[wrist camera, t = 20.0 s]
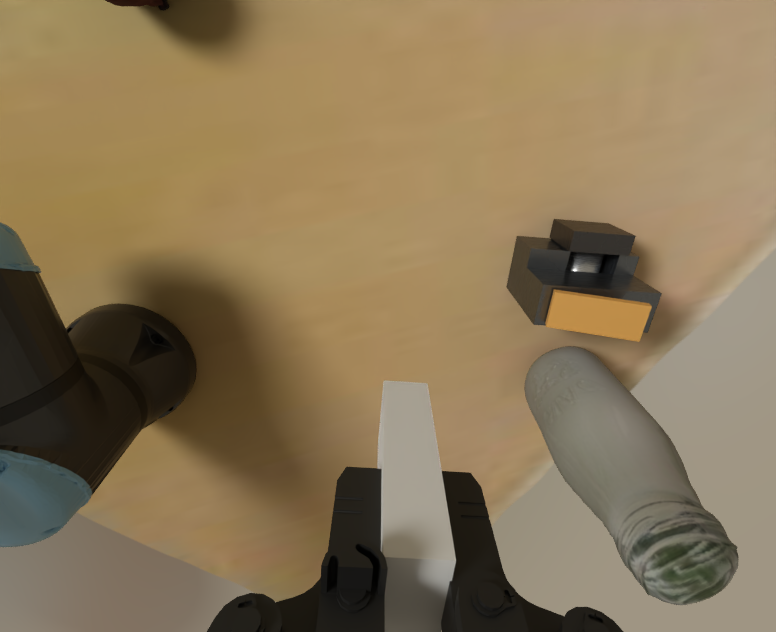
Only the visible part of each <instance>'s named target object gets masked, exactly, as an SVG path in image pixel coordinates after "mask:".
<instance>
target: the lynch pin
mask: <svg viewBox="0 0 776 632" xmlns="http://www.w3.org/2000/svg"><path fill="white" fill-rule="evenodd" d="M550 238H551V239H553V240H554V241H555V242H557V243H558V244H560V245H561V246H562V247H564V248H565V249H567V250H568V251H571V252H570V256H569V260H568V264H567V268H566V271H579V272H592V273H599V270H600V267H601V264H602V260H603V257H604V254H610V255H623V256H629V255H630V252H631V249H632V245H633V242H634V239H635V235H632V234H630V233H628V232H626V231H624V230H622V229H619V228H617V227H615V226H613V225H611V224H608V223H596V222H584V221H571V220H559V219H554V221H553V225H552V230H551V234H550Z"/></svg>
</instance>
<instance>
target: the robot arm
mask: <svg viewBox="0 0 776 632" xmlns="http://www.w3.org/2000/svg"><path fill="white" fill-rule="evenodd" d="M39 273H41V270H40V268H39V267H38V266H36V265H34V263H33V261H32V260H31V258H30V256H29V254H28V252H27V250H26V248H25V247H24V245H23V243H22V241H21V239H20V237H19V236H18V234H17V233H16V232H15V231H14V230H13V229H12V228H10V227H9V226H7V225H5V224H3V223H0V547H16V546H24V545H29V544H33V543H36V542H39V541H42V540H44V539H46V538H48V537H50V536H52V535H53V534H55V533H57V532H58V531H59V530H60V529H61V528H63V526H64V525H65V524H66V523H67V522H68V521H69V520H70V519H71V518H72V516H73V515H74V514H75V513H76V512H77V511H78V510H79V509H80V508H81V507H82V506H84V505H85V504H86V503H87V502H88V501H89V499H90V498H91V496H92V494H93V493H94V492H95V490H96V489H97V488H98V487H99V485H100V484H101V483H102V481H103V480H104V479H105V477H106V476H107V475H108V473H109V472H110V471H111V469H112V468H113V467H114V465H115V464H116V463H117V461H118V460H119V459H120V457H121V456H122V455H123V453H124V452H125V451H126V449H127V448H128V447H129V445H130V444H131V443H132V441H133V440H134V439H135V437H136V436H137V435H138V434H139V432H140V431H141V430H142V429H143V428H145V427H147V426H148V425H150V424H152V423H153V422H155V421H156V420H157V419H159V418H162V417H164V416H165V415H167V414H169V413H170V412H172V411H173V410H175V409H176V408H177V407H178V406H179V405H180V404H181V403H182V401H183V400H184V399H185V397H186V396H187V395H188V393H189V392H190V390H191V388H192V387H193V384H194V381H195V377H196V362H195V358H194V354H193V352H192V349H191V347H190V345H189V344H188V342H187V340H186V339H185V337H184V336H183V335H182V334H181V332H180V331H179V330H178V329H177V328H176V327H175V326H174V325H172V324H171V323H170V322H169V321H167V320H166V319H164V318H163V317H161V316H160V315H158V314H156V313H154V312H152V311H150V310H147V309H144V308H141V307H138V306H134V305H128V304H109V305H103V306H100V307H97V308H94V309H92V310H90V311H88V312H87V313H85V314H84V315H82V316H81V317H79V318H78V319H76V320H75V321H73V322H72V323H71V324H70V325H69V326H68V327H67V328H65V326H64V324H63V322H62V320H61V318H60V316H59V314H58V312H57V310H56V308H55V305H54V303H53V301H52V299H51V297H50V295H49V293H48V291H47V289H46V287H45V285H44V282H43V280H42V278H41V276H40V274H39ZM441 629H442V632H623V631H622V630H621V629H620V627H619V626H618V625H617V624H616V623H615V622H614V621H613V620H612V619H610V618H609V617H607V616H606V615H604V614H603V613H602V612H600V611H597V610H595V609H592V608H589V607H575V608H573V609H571V610H570V611H568V612H567V613H566V615H565V617H564V616H562V615H559V614H556V613H554V612H551V611H548V610H545V609H543V608H540V607H538V606H536V605H534V604H532V603H530V602H528V601H526V600H525V599H524V598H523V597H521V596H520V595H519V594H518V593H517V592H516V591H515V589H514V588H513V587H512V586H511V585H510V584H509V582H508V581H507V579H506V577H505V574H504V572H503V569H502V565H501V561H500V557H499V553H498V549H497V546H496V542H495V539H494V534H493V530H492V527H491V523H490V520H489V515H488V511H487V508H486V506H485V500H484V496H483V492H482V489H481V486H480V485H479V484H478V482H477V481H476V480H475V478H474V477H473V476H472V474H471V473H466V472H448V471H442V470H441V464H440V458H439V452H438V446H437V440H436V433H435V427H434V421H433V415H432V409H431V403H430V396H429V390H428V384H427V383H415V382H399V381H384V383H383V394H382V405H381V416H380V427H379V438H378V469H376V468H359V467H346V468H345V470H344V471H343V473H342V474H341V476H340V477H339V479H338V480H337V486H336V494H335V502H334V509H333V517H332V524H331V532H330V540H329V547H328V552H327V553H326V554H325V557H324V560H323V563H322V565H321V578H320V580H319V581H318V582H317V583H316V584H315V585H314V586H313V587H312V588H311V589H309V590H308V591H306V592H305V593H303V594H301V595H298V596H296V597H293V598H289V599H286V600H283V601H279V602H276V603H275V601H274V600H273V599H271V598H269V597H267V596H266V595H264V594H255V593H249V594H246V595H243V596H239V597H237V598H235V599H234V600H232V601H231V602H229V603H228V604H226V605H225V606H224V607H223V608H222V610H221V611H220V612H219V613H218V615H217V616H216V617H215V619H214V620H213V622H212V624H211V626H210V627H209V629H208V631H207V632H441Z"/></svg>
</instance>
